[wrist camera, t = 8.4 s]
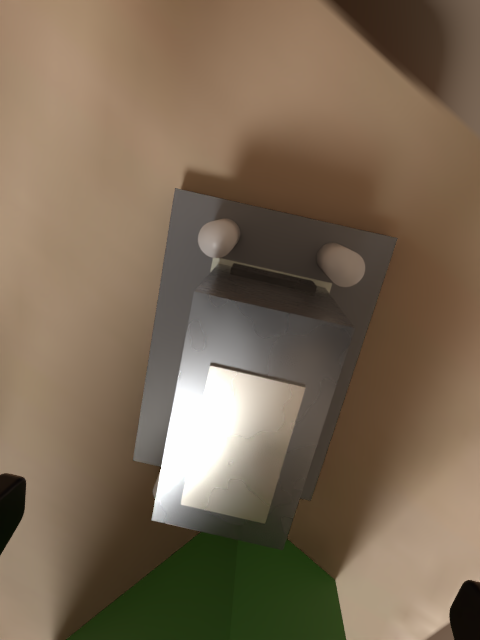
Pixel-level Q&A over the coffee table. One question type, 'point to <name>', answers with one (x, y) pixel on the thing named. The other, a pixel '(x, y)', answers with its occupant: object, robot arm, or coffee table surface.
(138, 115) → the coffee table surface
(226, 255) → the panel with knobs
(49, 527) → the coffee table surface
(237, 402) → the drive
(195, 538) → the hardback book
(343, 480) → the coffee table surface
